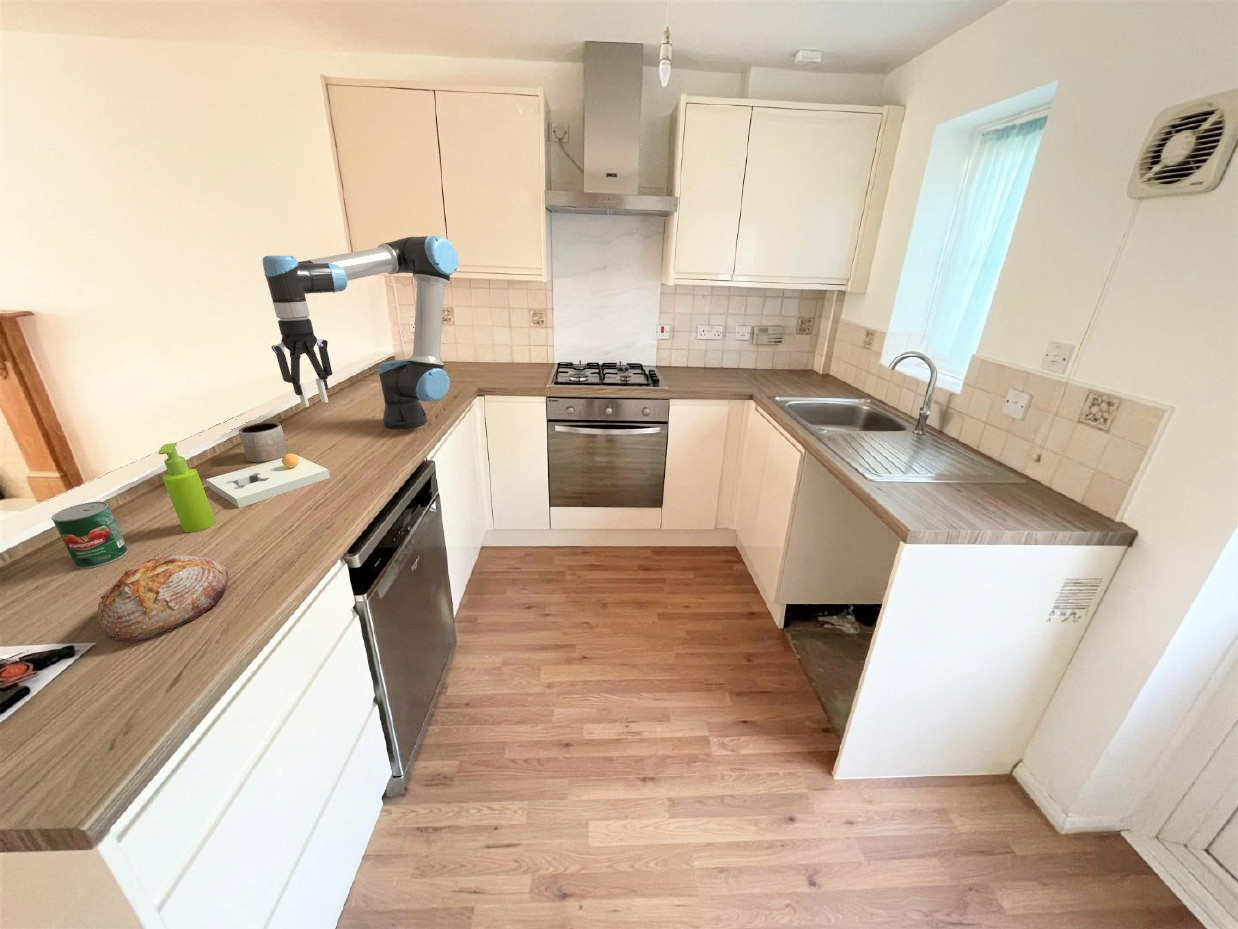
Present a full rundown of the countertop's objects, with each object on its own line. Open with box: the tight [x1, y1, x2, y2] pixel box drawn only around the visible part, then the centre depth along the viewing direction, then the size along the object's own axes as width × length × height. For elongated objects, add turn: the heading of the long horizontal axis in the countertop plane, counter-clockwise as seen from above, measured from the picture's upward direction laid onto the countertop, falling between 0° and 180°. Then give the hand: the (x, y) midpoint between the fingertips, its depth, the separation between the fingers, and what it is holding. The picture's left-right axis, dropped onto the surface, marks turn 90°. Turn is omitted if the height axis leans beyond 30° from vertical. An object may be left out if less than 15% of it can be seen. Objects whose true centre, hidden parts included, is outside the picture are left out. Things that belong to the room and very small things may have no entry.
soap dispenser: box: [157, 442, 217, 533], centre depth 109 cm, size 6×7×20 cm
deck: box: [205, 454, 331, 509], centre depth 134 cm, size 22×20×2 cm
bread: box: [97, 553, 229, 643], centre depth 85 cm, size 16×20×10 cm
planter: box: [237, 421, 290, 464], centre depth 151 cm, size 11×11×10 cm
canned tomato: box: [50, 501, 129, 570], centre depth 99 cm, size 8×8×11 cm
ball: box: [282, 453, 299, 468], centre depth 137 cm, size 4×4×4 cm
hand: (315, 403), depth 139 cm, fingers open, 4 cm apart
